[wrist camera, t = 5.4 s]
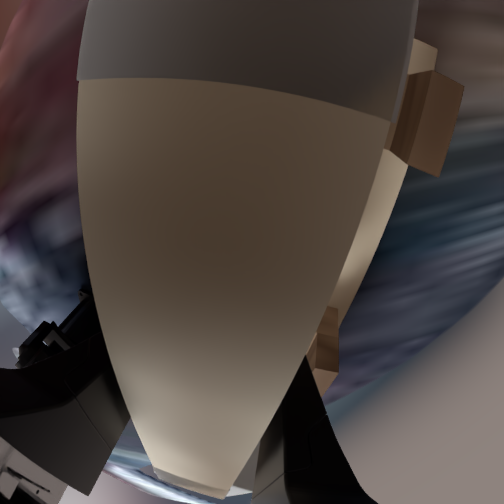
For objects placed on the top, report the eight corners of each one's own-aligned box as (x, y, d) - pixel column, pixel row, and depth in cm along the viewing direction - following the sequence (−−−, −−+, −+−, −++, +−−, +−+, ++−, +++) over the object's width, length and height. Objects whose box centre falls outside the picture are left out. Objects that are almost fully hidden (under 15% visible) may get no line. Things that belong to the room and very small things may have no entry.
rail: (187, 410, 16) (158, 478, 12) (229, -15, 5) (125, -101, 1) (244, 427, 15) (223, 499, 11) (366, 6, 5) (421, -93, 1)
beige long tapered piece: (211, 330, 26) (184, 390, 20) (270, 4, 13) (243, -43, 7) (317, 358, 25) (311, 424, 19) (432, 51, 12) (488, 34, 6)
